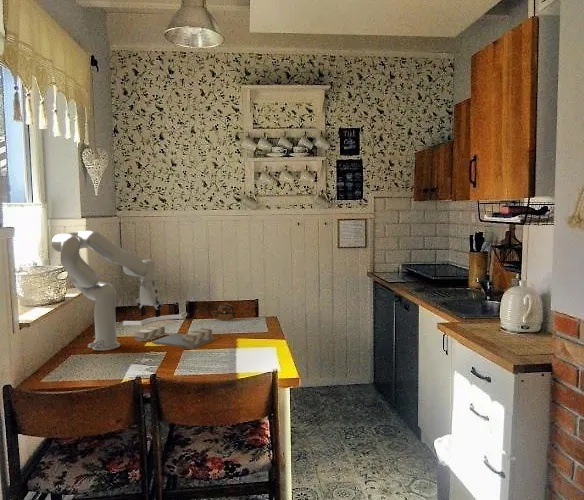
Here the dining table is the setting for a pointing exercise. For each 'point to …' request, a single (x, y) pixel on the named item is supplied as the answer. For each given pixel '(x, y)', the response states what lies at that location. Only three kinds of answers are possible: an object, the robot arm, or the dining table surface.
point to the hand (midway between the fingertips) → (150, 316)
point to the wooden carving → (224, 312)
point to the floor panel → (178, 341)
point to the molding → (154, 319)
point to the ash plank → (150, 333)
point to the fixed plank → (197, 336)
